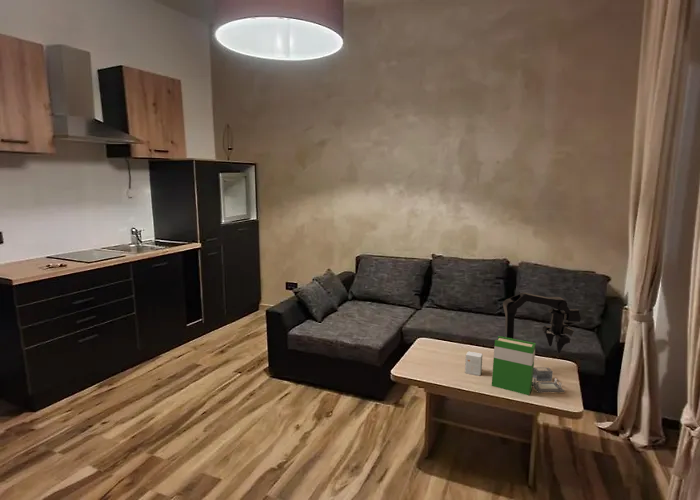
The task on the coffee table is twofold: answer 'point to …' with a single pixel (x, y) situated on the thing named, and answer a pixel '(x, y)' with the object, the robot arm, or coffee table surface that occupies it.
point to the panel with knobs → (547, 386)
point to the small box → (473, 363)
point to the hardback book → (513, 365)
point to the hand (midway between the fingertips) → (554, 349)
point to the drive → (542, 374)
